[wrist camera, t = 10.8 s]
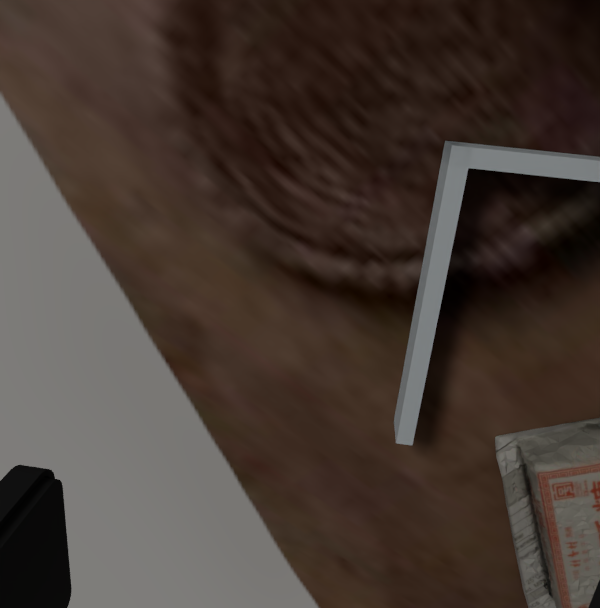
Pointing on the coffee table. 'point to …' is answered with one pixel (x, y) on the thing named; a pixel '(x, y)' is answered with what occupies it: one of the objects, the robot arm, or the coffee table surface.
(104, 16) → the coffee table surface
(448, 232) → the open frame
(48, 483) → the robot arm
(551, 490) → the packaged product
